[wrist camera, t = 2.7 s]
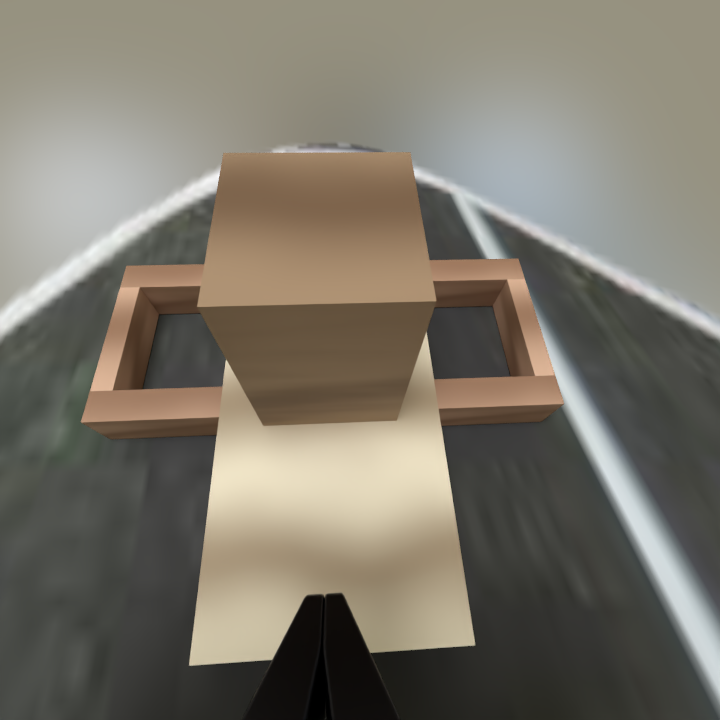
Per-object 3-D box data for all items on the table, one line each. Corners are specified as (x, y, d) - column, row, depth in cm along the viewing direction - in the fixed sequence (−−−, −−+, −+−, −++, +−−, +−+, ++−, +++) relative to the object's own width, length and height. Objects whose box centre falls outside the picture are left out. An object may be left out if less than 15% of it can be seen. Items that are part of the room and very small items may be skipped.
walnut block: (396, 420, 18) (436, 301, 10) (263, 425, 18) (197, 307, 10) (385, 311, 21) (410, 152, 13) (270, 315, 21) (223, 152, 13)
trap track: (598, 626, 17) (637, 634, 14) (54, 663, 16) (6, 678, 13) (478, 199, 29) (489, 168, 27) (169, 202, 28) (154, 170, 26)
